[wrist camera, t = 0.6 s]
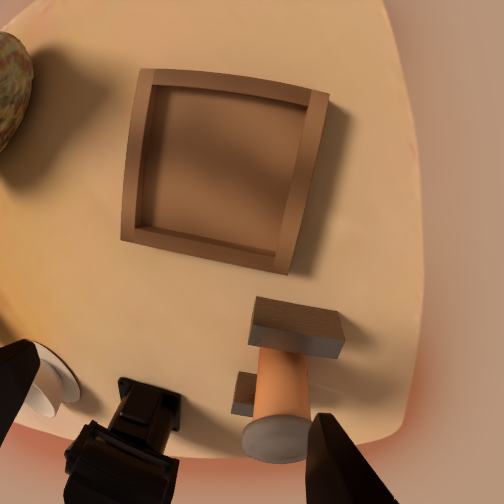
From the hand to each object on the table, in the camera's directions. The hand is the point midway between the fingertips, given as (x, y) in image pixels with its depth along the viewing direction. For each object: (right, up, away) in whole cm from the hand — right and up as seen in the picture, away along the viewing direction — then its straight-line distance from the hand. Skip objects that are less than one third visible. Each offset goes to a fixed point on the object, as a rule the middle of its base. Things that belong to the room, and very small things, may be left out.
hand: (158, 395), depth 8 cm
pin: (+5, -4, +16) cm, 17 cm away
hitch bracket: (+5, -4, +16) cm, 17 cm away
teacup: (-22, -10, +21) cm, 32 cm away
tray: (+1, +9, +11) cm, 14 cm away
